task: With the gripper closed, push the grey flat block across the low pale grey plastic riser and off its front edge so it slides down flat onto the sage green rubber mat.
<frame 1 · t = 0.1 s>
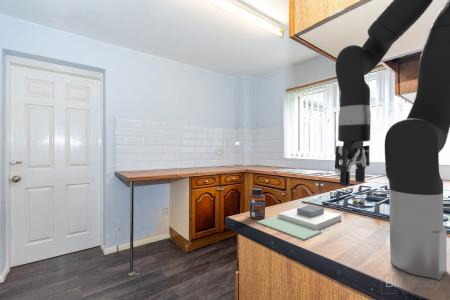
hand: (352, 183, 62), 17 cm above the counter, tool pointing down, fingers open, 8 cm apart
riser: (309, 219, 84), on the counter
supplement bottle: (257, 218, 88), on the counter
grey flat block: (310, 213, 85), point 2 cm above the counter, touching riser
mat: (286, 227, 77), on the counter
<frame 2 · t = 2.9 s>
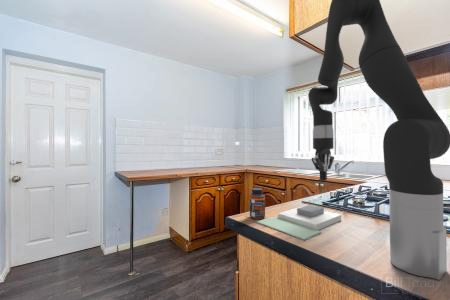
hand: (323, 180, 90), 13 cm above the counter, tool pointing down, fingers closed
nothing on the counter moved.
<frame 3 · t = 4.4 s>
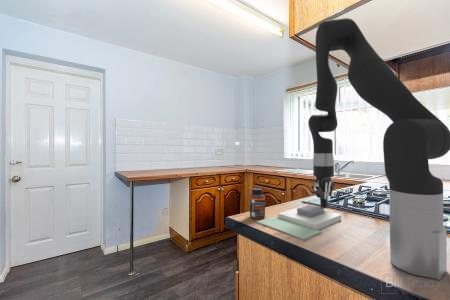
hand: (324, 207, 90), 3 cm above the counter, tool pointing down, fingers closed
nothing on the counter moved.
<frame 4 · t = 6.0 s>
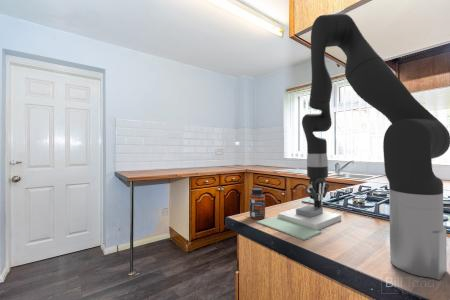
hand: (318, 209, 88), 3 cm above the counter, tool pointing down, fingers closed
nothing on the counter moved.
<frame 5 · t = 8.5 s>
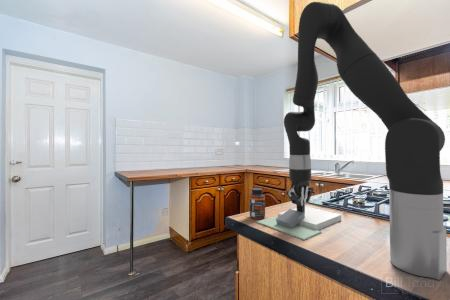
hand: (300, 215, 82), 3 cm above the counter, tool pointing down, fingers closed
grey flat block: (290, 220, 79), point 1 cm above the counter, tilted 15°, touching mat, riser
everything else where it was.
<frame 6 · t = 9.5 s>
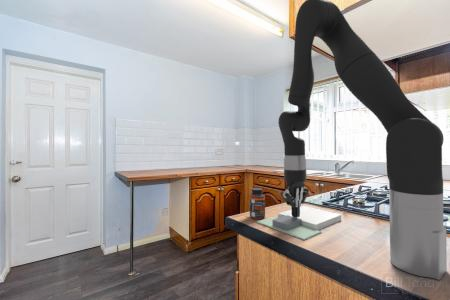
hand: (295, 216, 80), 3 cm above the counter, tool pointing down, fingers closed
grey flat block: (287, 225, 78), resting on mat
everything else where it was.
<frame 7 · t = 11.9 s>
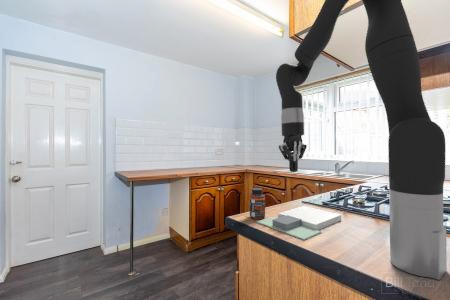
hand: (293, 171, 79), 19 cm above the counter, tool pointing down, fingers closed
nothing on the counter moved.
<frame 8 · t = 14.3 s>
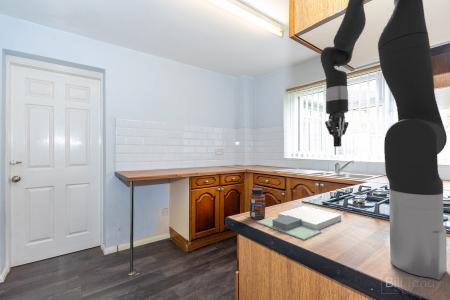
hand: (337, 146, 85), 27 cm above the counter, tool pointing down, fingers closed
nothing on the counter moved.
at the end: grey flat block inside the target area on the mat (0.8 cm from its centre), point 0.4 cm above the mat's base; grey flat block tilted 0° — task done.
